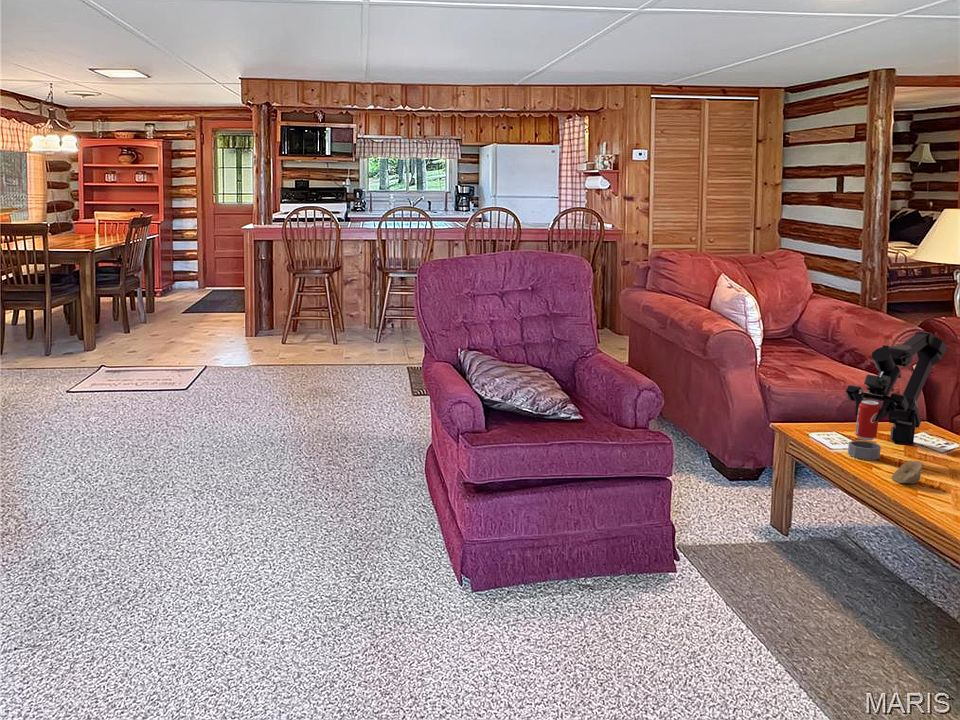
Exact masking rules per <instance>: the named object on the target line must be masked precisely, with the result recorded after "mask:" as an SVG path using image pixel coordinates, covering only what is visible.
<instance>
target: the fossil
mask: <svg viewBox="0 0 960 720" xmlns="http://www.w3.org/2000/svg"><path fill="white" fill-rule="evenodd" d="M923 466H924V463H923V462H922V461H918V460H916V461H915V460H914V461H913V460H911V461H910V460H909V461H907V462H905V463H903V464H902V465H901V466H899V468H897V470H895V472H893V473H892V475H891V480H892V481H894V482H897V483H899V484H909V485H913V484H915V483H918V482H920V480H921V475H922V469H923Z"/></svg>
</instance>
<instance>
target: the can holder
mask: <svg viewBox="0 0 960 720" xmlns="http://www.w3.org/2000/svg"><path fill="white" fill-rule="evenodd" d="M881 450H882V449H881V445H880V444H878V443H876V442H871V441H868V440H851V441H849V442H848V446H847V455H848V454H849V455H850V456H851V457H850V456H849V455H848V456H849V457H850V458H853V457H855V458H854V459H856V458H859V459H858V460H860V459H864V460H863V461H878V460H879V459H880V456H881ZM877 459H878V460H877Z"/></svg>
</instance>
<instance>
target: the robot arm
mask: <svg viewBox="0 0 960 720" xmlns="http://www.w3.org/2000/svg"><path fill="white" fill-rule="evenodd" d="M946 352H947V345H946V344H945V342H944V341H943V340H942V339H940V338H939V337H936V336H935V335H934V334H933V333H931V332H928V331H927V332H926V331H915V333H914V334H913V336H911V337H910V338H909V339H907V340H906V341H904V342H903V343H902V344H899V345H898V344H896V345H892V346H889V345H886V344H885V345H884V344H883V345H882V346H881V347H879V348H876V349H875V350H873V351H872V353H871V359H872V361H873V364H874V365H875V368H876V369H877V371H879V372H878V374H877V375H873V374H868V373H867V374H866V376H865V379H864V382H863V384H864V385H866V390H868V391H864V390H863V389H862V387H861V386H859V385H853V384H849V385H847V387H846V388H845V393H846V395H847V397H848V399H849V400H850V401H852V402H855V413H854V415H855V418H857V415H858V408H859V404H860V403H861V402H862V400H866V399H867V400H871V401H876V402H878V401H879V402H881V403H882V406H881V407H880V411H879V412H878V414H877V416H876V418H875V421H876V422H878V423H879V422H880V420H882V419H884V418H886V417H887V416H888V423H889V424H893V425H892V426H891V428H890V436H889V439H890V440H891V441H892V442H893V443H894V444H897V445H911V446H913V445H915V446H916V443H915V442H914V440H915V439H914V438H915V433H916V428H920V426H921V422H922V419H921V415H920V414H919V405H918V399H919V397H920V394H921V392H922V391H923V388H924V386H925V384H926V381H927V379H928V377H929V375H930V373H931V370H932V367H933V366H934V365H936V364H938V363H939V362H940V361H941V360H942V359H943V357H944V355H946ZM915 354H916V355H917V359H918V360H917V361H916V363H915V366H914V368H913V371H912V373H911V375H910V377H909V380H908V382H907V384H906V386H905V388H904V390H903V393H902V394H901V393H896V392H894V391H895V389H894V386H895V384H896V383H897V380H898V378H899V379H901V378H902V374H901V369H900V367H903V368H906V367H908V366H909V365H910V364H911V363H912V362H913V356H914V355H915ZM891 392H892V393H891ZM890 394H891V395H890ZM889 395H890V396H889Z"/></svg>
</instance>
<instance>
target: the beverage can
mask: <svg viewBox="0 0 960 720" xmlns="http://www.w3.org/2000/svg"><path fill="white" fill-rule="evenodd" d="M880 409H881V407H880V403H879V402H878V401H877V400H872V399H867V400H866V399H864V400H862V402H861V403H860V404H859V408H858V415H857V417H856V425H855V431H854V435H855V436H856V438H857V439H859V440H861V441H874V440H875V438H877V433H878V425H879V421H878V422H876V421H875V418H876V416H877V414H878V412H879V411H880Z"/></svg>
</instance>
